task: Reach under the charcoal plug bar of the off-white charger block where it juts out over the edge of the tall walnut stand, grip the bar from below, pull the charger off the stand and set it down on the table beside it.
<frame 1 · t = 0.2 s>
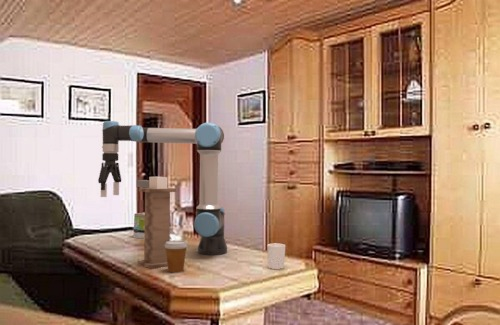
hand: (110, 196, 224), 29 cm above the table, tool pointing down, fingers open, 13 cm apart
charger: (151, 187, 207), point 34 cm above the table, touching walnut stand
walnut stand: (156, 264, 203), on the table
tea box: (147, 237, 280), on the table
disposable coffee cup: (175, 271, 192), on the table
white cup: (276, 268, 200), on the table
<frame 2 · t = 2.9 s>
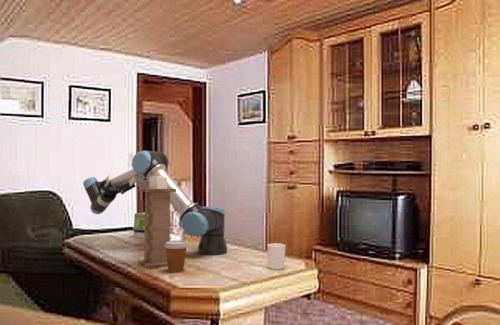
hand: (122, 177, 227), 38 cm above the table, tool pointing upward, fingers open, 13 cm apart
nothing on the table moved.
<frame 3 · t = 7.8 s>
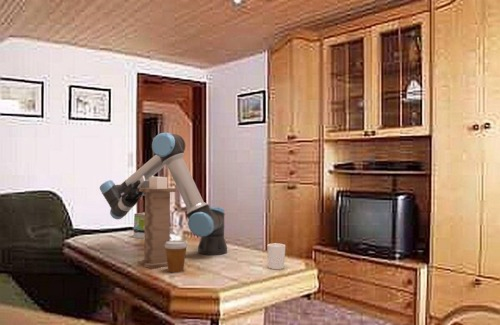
hand: (148, 178, 209), 38 cm above the table, tool pointing upward, fingers closed on charger, 4 cm apart
charger: (151, 187, 207), point 34 cm above the table, touching gripper, walnut stand
everything else where it was.
when the fingers open (12 cm above the table, at t = 15.2 s): charger drops 7 cm, on the table.
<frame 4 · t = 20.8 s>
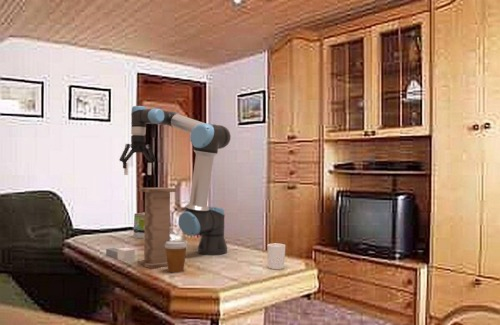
hand: (137, 174, 244), 39 cm above the table, tool pointing down, fingers open, 13 cm apart
charger: (119, 257, 217), on the table
everything else where it was.
at the end: charger inside the target area (1.9 cm from its centre), on the table; the gripper is holding nothing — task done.
